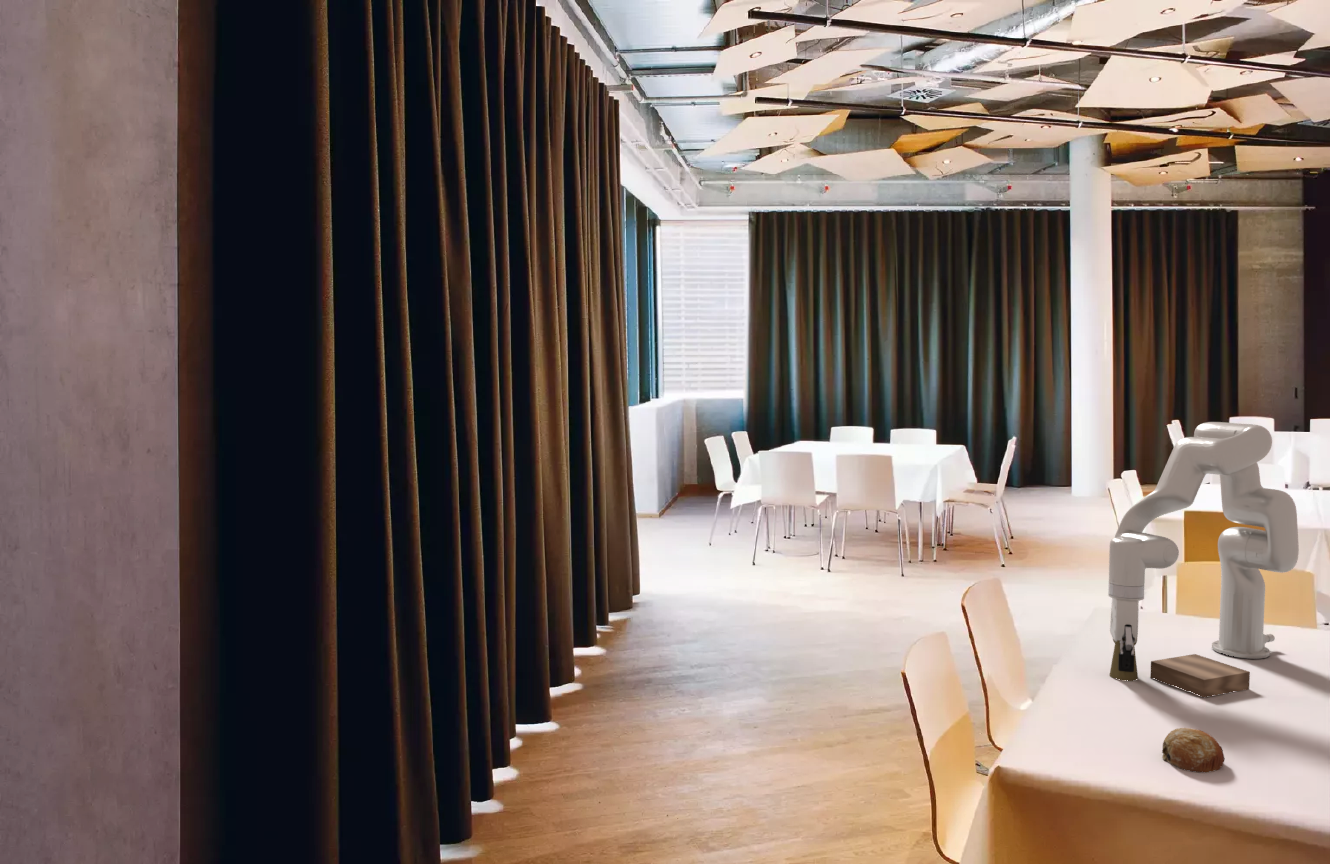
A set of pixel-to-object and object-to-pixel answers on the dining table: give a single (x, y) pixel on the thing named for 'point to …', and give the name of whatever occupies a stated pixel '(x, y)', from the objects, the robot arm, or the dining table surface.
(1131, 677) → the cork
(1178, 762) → the bread roll
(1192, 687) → the walnut plinth
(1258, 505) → the robot arm
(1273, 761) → the dining table surface
